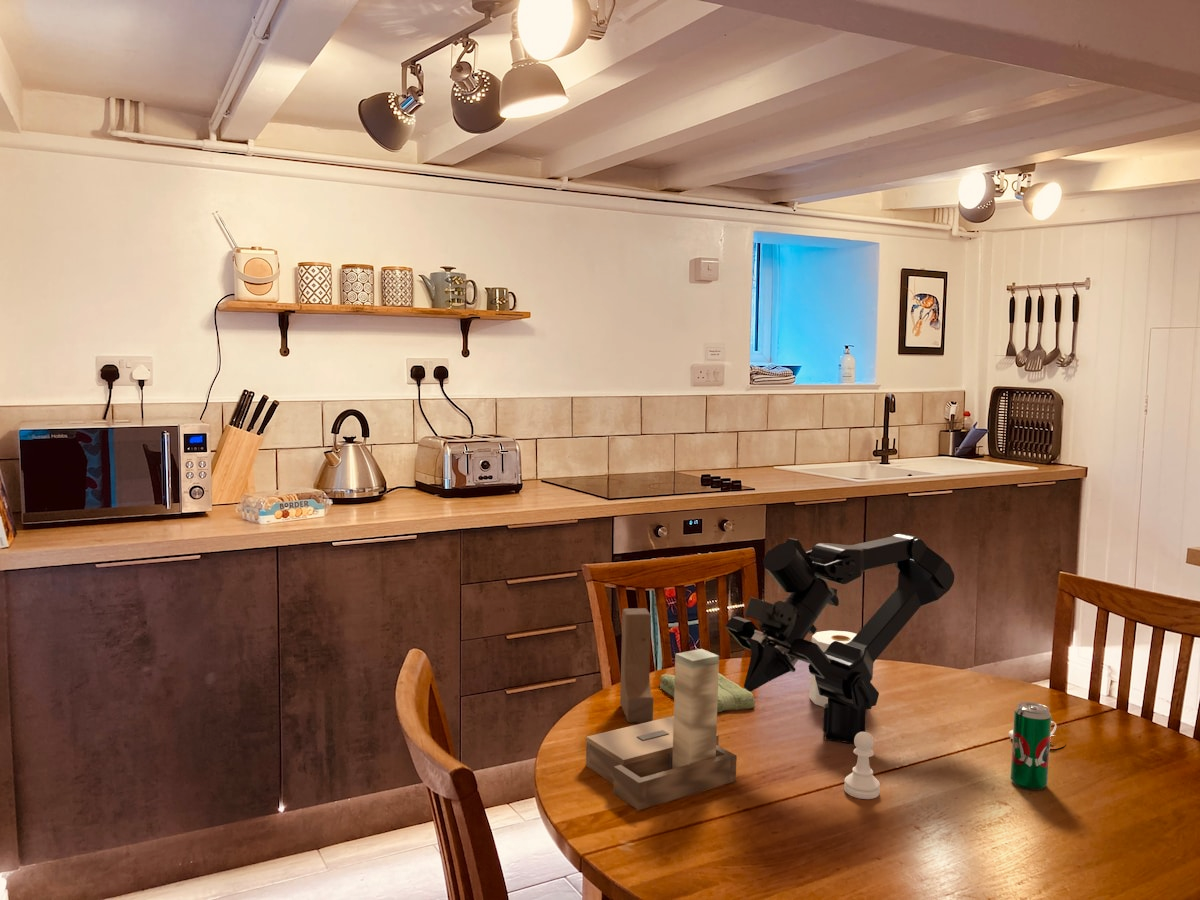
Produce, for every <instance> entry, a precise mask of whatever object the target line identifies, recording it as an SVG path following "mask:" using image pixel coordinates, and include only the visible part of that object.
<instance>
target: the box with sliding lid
mask: <svg viewBox="0 0 1200 900" xmlns="http://www.w3.org/2000/svg"><path fill="white" fill-rule="evenodd" d="M673 723H674V715H672V716H668V717H663V718H662V717H661V718H659V719H655V720H654V719H653V721H650V722H640V723H638V724H634V725H633V724H632V725H629V726H625V727H621V728H617V729H612V730H609V731H605V732H600V733H595V734H591V735H587V736H586V742H585V743H586V746H585V747H586V748H585V766H586V767H588V768H589V769H590V770H591V771H593V772H595V773H596V774H597V775H599V776H601V777H602V778H604V779H605V780H606V781H608V782H610V783H611V784H612V785H613V791H612V792H613V794H614V795H615V796H616V797H618V798H620V799H621V800H623V802H625V803H627V804H628V805H630V807H632V808H634V809H635V810H636V811H641V810H645V809H648V808H649V809H650V808H652V807H655V806H658V805H662V804H665V803H670V802H672V801H676V800H677V799H682V798H685V797H686V798H687V797H688V796H692V795H695V794H699V793H702V792H705V791H708V790H712V789H715V788H718V787H721V786H726V785H729V784H732V783H736V782H737V755H736V754H735V753H732V752H730V751H729V750H727V749H726V748H723V747H722V746H719V739H720V737H719V735H720V734H718V733H717V734H716V757H714V758H710V759H707V760H703V761H700V762H696V763H692V764H689V765H685V766H681V767H678V768H674V769H672V758H673Z"/></svg>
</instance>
